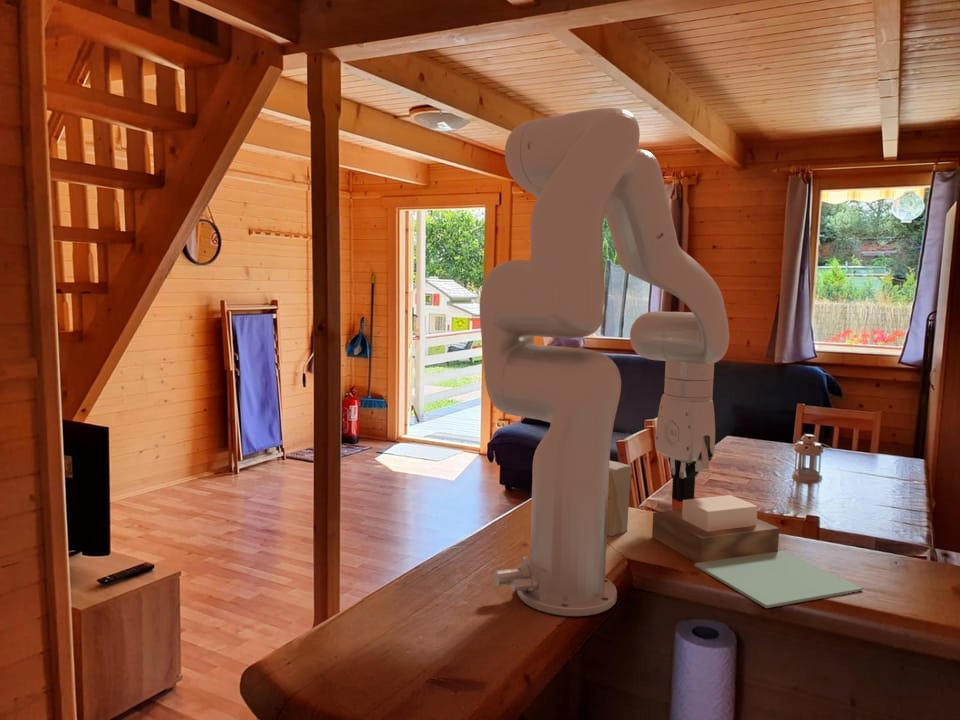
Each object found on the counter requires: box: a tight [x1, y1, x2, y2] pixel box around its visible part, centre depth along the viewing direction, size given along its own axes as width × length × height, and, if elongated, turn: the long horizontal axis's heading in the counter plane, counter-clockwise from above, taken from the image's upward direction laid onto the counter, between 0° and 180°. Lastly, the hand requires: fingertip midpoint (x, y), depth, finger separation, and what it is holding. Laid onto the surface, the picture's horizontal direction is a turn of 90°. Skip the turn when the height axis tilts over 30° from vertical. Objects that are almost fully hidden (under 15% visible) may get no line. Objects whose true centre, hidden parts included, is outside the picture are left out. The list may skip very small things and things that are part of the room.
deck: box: [651, 508, 780, 563], centre depth 109 cm, size 14×12×4 cm
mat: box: [694, 550, 864, 609], centre depth 97 cm, size 16×14×1 cm
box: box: [607, 460, 632, 537], centre depth 114 cm, size 5×4×11 cm
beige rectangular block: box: [681, 494, 758, 532], centre depth 107 cm, size 9×6×3 cm, turn 110°
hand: (682, 499), depth 116 cm, fingers closed
